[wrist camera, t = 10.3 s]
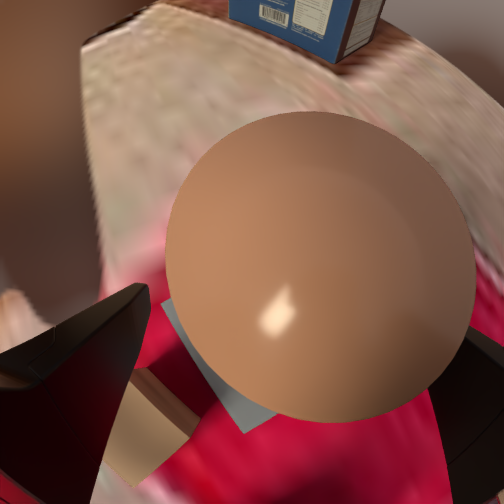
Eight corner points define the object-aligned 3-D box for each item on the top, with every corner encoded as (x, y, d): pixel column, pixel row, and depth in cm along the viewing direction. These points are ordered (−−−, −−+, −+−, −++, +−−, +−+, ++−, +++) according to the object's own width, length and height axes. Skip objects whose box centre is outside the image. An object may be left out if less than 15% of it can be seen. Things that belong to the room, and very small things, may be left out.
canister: (271, 388, 16) (368, 483, 3) (207, 334, 17) (97, 254, 4) (324, 324, 17) (501, 231, 4) (262, 273, 18) (304, 77, 5)
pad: (243, 430, 16) (243, 433, 15) (163, 305, 18) (160, 303, 17) (364, 347, 18) (369, 347, 17) (285, 233, 20) (287, 228, 19)
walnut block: (155, 461, 15) (133, 488, 10) (104, 412, 15) (70, 424, 11) (201, 418, 16) (189, 438, 12) (147, 367, 17) (120, 370, 12)
